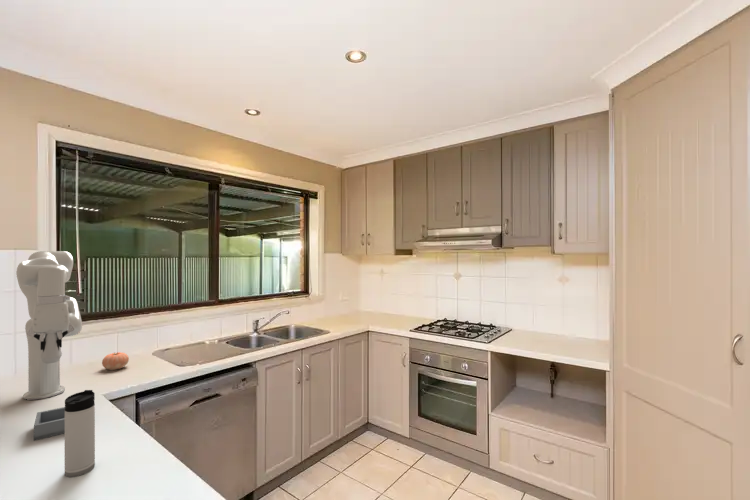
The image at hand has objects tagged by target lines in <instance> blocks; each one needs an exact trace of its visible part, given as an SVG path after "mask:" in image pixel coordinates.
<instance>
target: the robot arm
mask: <svg viewBox="0 0 750 500" xmlns="http://www.w3.org/2000/svg"><path fill="white" fill-rule="evenodd" d="M73 267H74V258H73V255H72V254H71V253H70V252H68V251H65V250H63V251H62V250H43V251H36V252H33V253H31V255H29V257H28V259H27V260H24V261H21V262H20V263H19V264H18V265H17V267H16V273H15V274H16V278H17V279H16V280H17V283H18V286H19V289H20V291H21V292H22V293H23V295H24V297H25V298H26V302H27V311H28V315H29V317H30V319H28V320H27V321H26V323H25V327H24V329H25V334H26V335H25V336H26V340H27V349H28V350H27V351H28V353H27V354H28V356H27V357H28V360H27V361H28V362H27V363H28V366H27V367H28V370H27V371H28V372H27V373H28V375H27V376H28V377H27V378H28V379H27V380H28V383H27V384H28V390H27V391H26V392H25V393H24V394H23V395H22V399H24V400H26V399H27V400H29V401H31V400H32V401H33V400H42V399H46V398H51V397H54V396H57V395H60V394H62V393H63V392H64V391H65V390H66V387H65V386H63V385H61V359H60V360H59V361H58V362H55V363H49V364H46V363H43V361H42V359H41V354H42V350H43V352H44V350H45V345H46V341H45V335H46V334H45V332H48V331H49V330H50V329H52V330H55V331H57V336H58V338H57V340H56V343H57V347H58V350H59V347H60V348H61V349H62V346H63V344H62V343H63V342H62V341H63V338H66V337H72V336H77V335H78V334H80V333H81V332H82V330H83V320H82V316H81V312H80V309H79V304H78V301H77V299H76V298H74V297H71V296H70V295H66V292H65V291H66V289H65V288H66V283H67V282H69V280H70V279H71V276H72V271H73Z"/></svg>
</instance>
